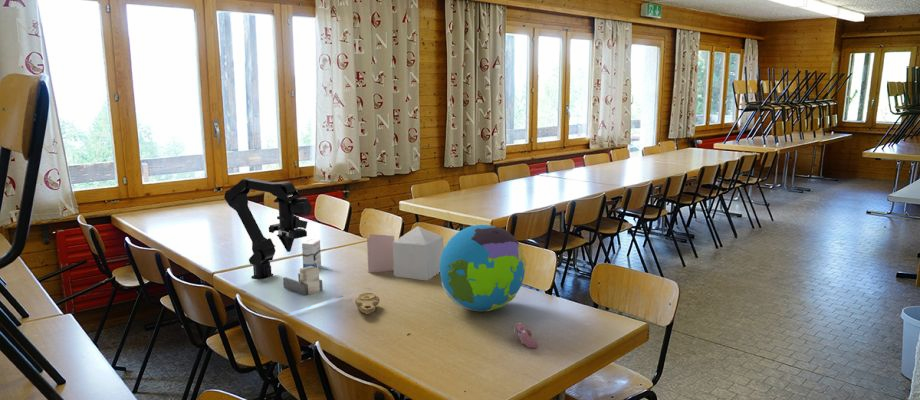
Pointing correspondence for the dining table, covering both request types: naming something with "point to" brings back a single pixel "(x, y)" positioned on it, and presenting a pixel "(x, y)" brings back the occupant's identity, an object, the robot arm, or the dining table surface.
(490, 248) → the globe
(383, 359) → the dining table surface
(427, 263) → the decorative block
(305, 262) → the ink box
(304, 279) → the block
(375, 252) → the greeting card
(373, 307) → the oil lamp
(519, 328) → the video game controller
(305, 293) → the chute
